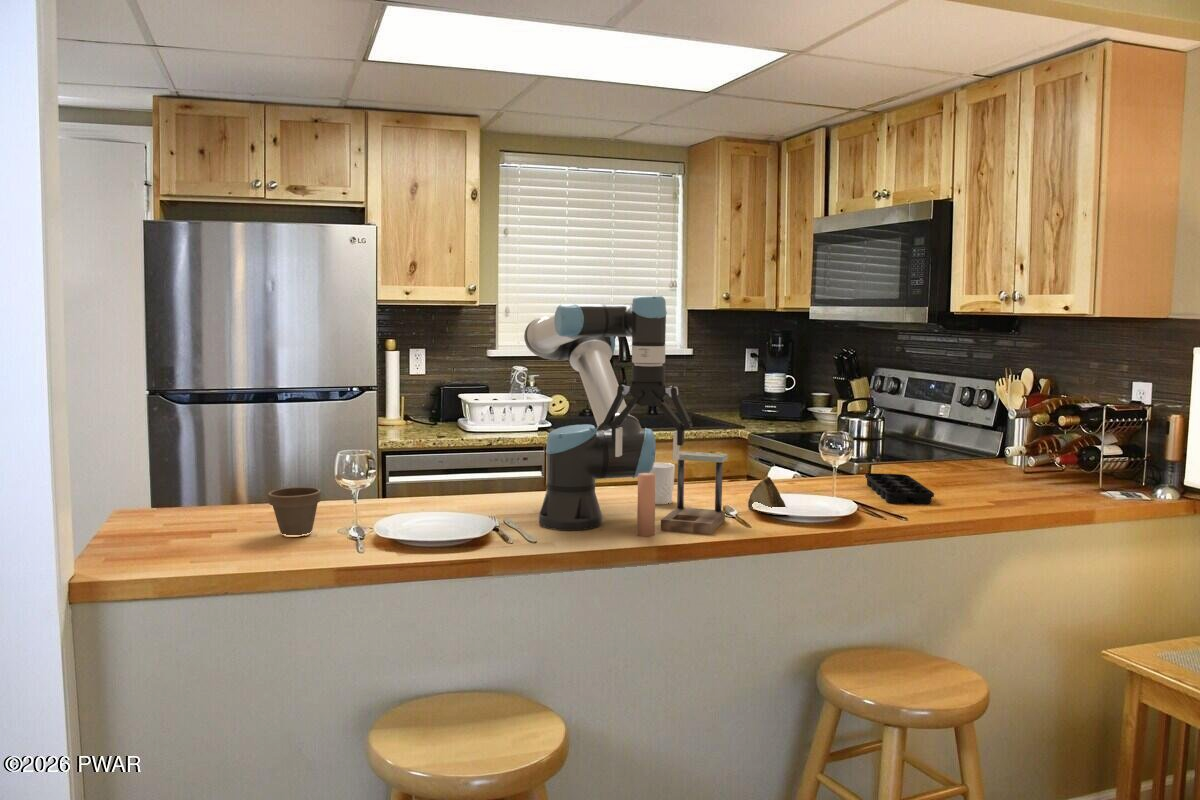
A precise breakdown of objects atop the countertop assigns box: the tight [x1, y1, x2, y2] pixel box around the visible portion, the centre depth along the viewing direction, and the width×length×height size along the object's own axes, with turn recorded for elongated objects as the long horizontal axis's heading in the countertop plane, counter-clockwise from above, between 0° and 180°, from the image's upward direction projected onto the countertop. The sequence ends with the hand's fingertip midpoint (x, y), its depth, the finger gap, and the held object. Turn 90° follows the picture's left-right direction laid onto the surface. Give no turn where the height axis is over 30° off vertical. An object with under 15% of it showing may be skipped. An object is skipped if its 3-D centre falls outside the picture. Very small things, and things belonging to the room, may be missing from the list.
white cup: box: [650, 462, 676, 505], centre depth 264 cm, size 8×8×10 cm
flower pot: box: [267, 486, 322, 535], centre depth 225 cm, size 12×11×10 cm
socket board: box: [660, 506, 726, 535], centre depth 238 cm, size 12×15×2 cm
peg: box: [636, 473, 656, 538], centre depth 228 cm, size 4×4×14 cm
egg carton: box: [864, 472, 935, 506], centre depth 278 cm, size 18×30×4 cm, turn 10°
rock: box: [747, 475, 787, 513], centre depth 254 cm, size 11×9×10 cm
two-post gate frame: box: [676, 450, 728, 512], centre depth 243 cm, size 12×5×14 cm, turn 71°
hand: (647, 458), depth 227 cm, fingers open, 13 cm apart
